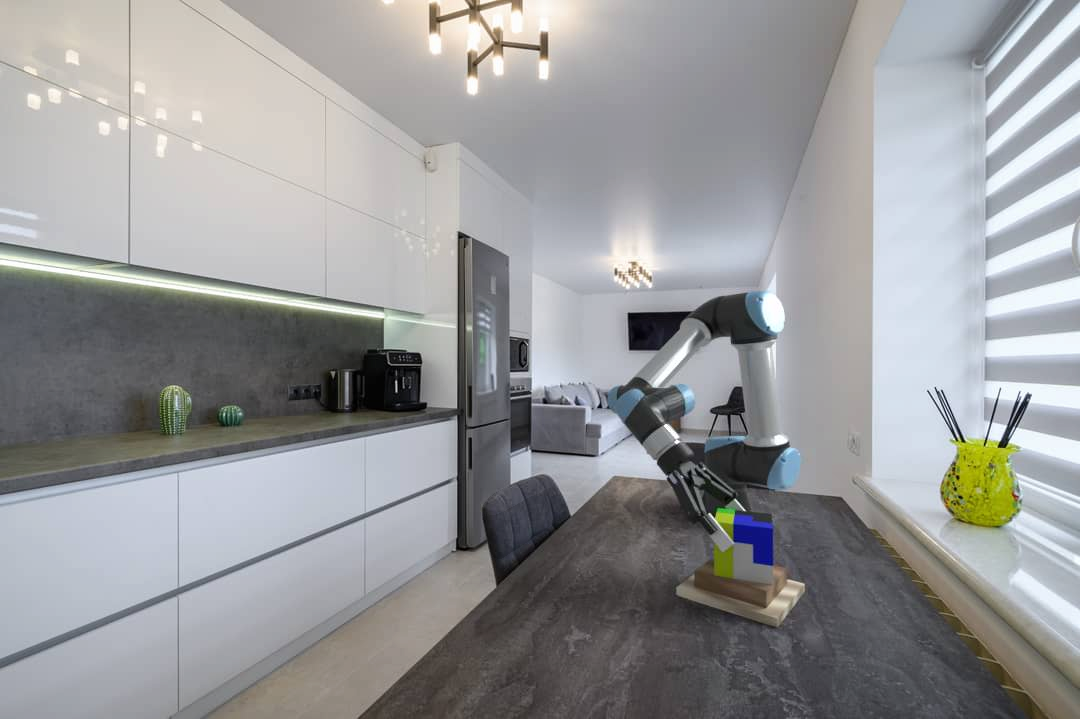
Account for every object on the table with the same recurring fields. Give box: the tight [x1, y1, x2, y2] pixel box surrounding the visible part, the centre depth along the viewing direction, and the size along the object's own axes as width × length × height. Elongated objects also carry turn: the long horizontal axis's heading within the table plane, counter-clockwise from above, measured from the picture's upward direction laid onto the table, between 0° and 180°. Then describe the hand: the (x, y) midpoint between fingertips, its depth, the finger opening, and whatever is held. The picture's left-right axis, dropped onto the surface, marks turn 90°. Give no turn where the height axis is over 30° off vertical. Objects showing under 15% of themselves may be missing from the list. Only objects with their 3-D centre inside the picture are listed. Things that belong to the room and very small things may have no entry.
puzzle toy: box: [713, 508, 774, 585], centre depth 96 cm, size 10×10×10 cm
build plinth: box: [675, 556, 806, 628], centre depth 95 cm, size 18×18×4 cm
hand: (741, 538), depth 95 cm, fingers open, 13 cm apart
